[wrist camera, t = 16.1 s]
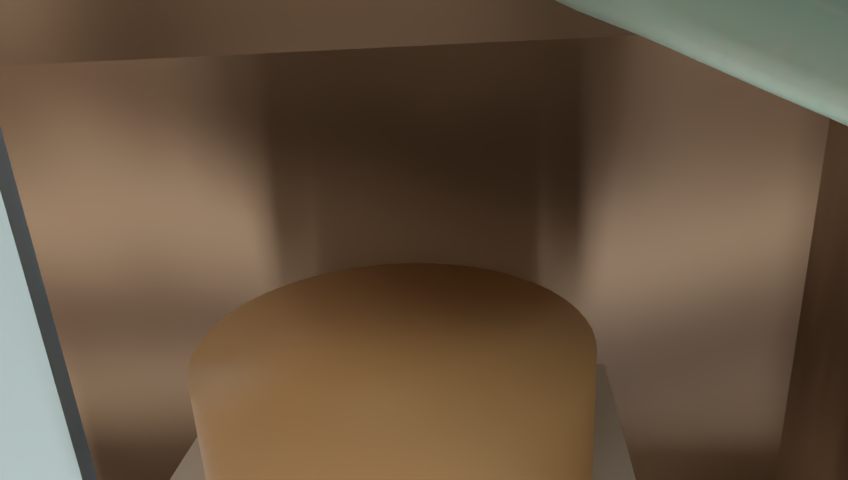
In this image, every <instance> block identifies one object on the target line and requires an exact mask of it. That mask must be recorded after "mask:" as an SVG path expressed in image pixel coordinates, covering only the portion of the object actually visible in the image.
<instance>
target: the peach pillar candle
mask: <svg viewBox="0 0 848 480" xmlns="http://www.w3.org/2000/svg"><path fill="white" fill-rule="evenodd" d="M596 373H597V342H596V339H595V335H594V332H593V330H592V328H591V326H590V325H589V323H588V321H587V320H586V318H585V317H584V316H583V315H582V314H581V313H580V312H579V310H578V309H577V308H576V307H574V306H573V305H572V304H571V303H569V302H568V301H567V300H566V299H564V298H563V297H561V296H559V295H558V294H556V293H554V292H553V291H551V290H549V289H547V288H545V287H543V286H540V285H538V284H536V283H534V282H531V281H528V280H525V279H523V278H520V277H517V276H513V275H509V274H506V273H502V272H498V271H493V270H488V269H483V268H477V267H470V266H463V265H452V264H439V263H398V264H382V265H373V266H364V267H357V268H351V269H345V270H339V271H335V272H330V273H325V274H321V275H317V276H313V277H310V278H306V279H302V280H299V281H296V282H293V283H290V284H287V285H284V286H282V287H279V288H277V289H274V290H272V291H270V292H267V293H265V294H263V295H261V296H259V297H257V298H255V299H253V300H251V301H249V302H247V303H245V304H244V305H242V306H240V307H239V308H237V309H235V310H234V311H232V312H231V313H229V314H228V315H227V316H225V317H224V318H223V319H221V320H220V321H219V322H218V323H217V324H216V325H214V326H213V327H212V328H211V329H210V330H209V331H208V332H207V333H206V335H205V336H204V337H203V338H202V340H201V341H200V342H199V343H198V345H197V347H196V349H195V351H194V353H193V355H192V356H191V360H190V363H189V367H188V388H189V393H190V398H191V404H192V409H193V414H194V420H195V425H196V430H197V436H198V441H199V447H200V452H201V457H202V463H203V468H204V473H205V479H206V480H592V470H593V446H594V422H595V398H596Z"/></svg>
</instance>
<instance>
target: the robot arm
mask: <svg viewBox="0 0 848 480" xmlns="http://www.w3.org/2000/svg"><path fill="white" fill-rule="evenodd" d="M170 480H206V479H205V473H204V468H203V463H202V457H201V452H200V447H199V441H198V436H197V438H196V439H195V441H194V443H193V444H192V446H191V447H190V449H189V450H188V452H187V454H186V455H185V457H184V458H183V460H182V461H181V463H180V465H179V466H178V468H177V469H176V471H175V472H174V474H173V476H172V477H171V479H170ZM592 480H636V478H635V475H634V471H633V467H632V464H631V460H630V456H629V453H628V449H627V445H626V442H625V438H624V434H623V431H622V427H621V423H620V420H619V416H618V412H617V409H616V405H615V401H614V398H613V394H612V390H611V387H610V383H609V379H608V376H607V372H606V368H605V365H604V364H597V373H596V398H595V422H594V446H593V470H592Z"/></svg>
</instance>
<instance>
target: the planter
mask: <svg viewBox="0 0 848 480" xmlns="http://www.w3.org/2000/svg"><path fill="white" fill-rule="evenodd" d="M555 1H557V2H560V3H562V4H564V5H566V6H568V7H570V8H573V9H575V10H577V11H579V12H582V13H584V14H587V15H589V16H592V17H594V18H597V19H599V20H602V21H604V22H607V23H609V24H612V25H615V26H617V27H620V28H622V29H625V30H627V31H630V32H632V33H635V34H637V35H640V36H642V37H645V38H647V39H649V40H652V41H654V42H656V43H659V44H661V45H663V46H665V47H668V48H670V49H672V50H674V51H677V52H679V53H681V54H683V55H686V56H688V57H690V58H692V59H695V60H697V61H699V62H702V63H704V64H706V65H708V66H711V67H713V68H715V69H717V70H720V71H722V72H724V73H726V74H729V75H731V76H733V77H735V78H738V79H740V80H742V81H745V82H747V83H749V84H751V85H754V86H756V87H758V88H760V89H763V90H765V91H767V92H769V93H772V94H774V95H776V96H779V97H781V98H783V99H786V100H788V101H790V102H793V103H795V104H797V105H800V106H802V107H804V108H807V109H809V110H811V111H814V112H816V113H818V114H821V115H823V116H825V117H828V118H830V119H832V120H835V121H837V122H839V123H842V124H844V125H846V126H848V0H555Z"/></svg>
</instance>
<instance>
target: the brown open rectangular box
mask: <svg viewBox="0 0 848 480" xmlns="http://www.w3.org/2000/svg"><path fill="white" fill-rule="evenodd" d="M0 127H1V130H2V134H3V138H4V141H5V145H6V148H7V152H8V156H9V159H10V163H11V167H12V170H13V174H14V178H15V181H16V185H17V188H18V192H19V196H20V199H21V203H22V207H23V210H24V214H25V218H26V221H27V225H28V229H29V232H30V236H31V239H32V243H33V247H34V250H35V254H36V258H37V261H38V265H39V269H40V272H41V276H42V280H43V283H44V287H45V290H46V294H47V298H48V301H49V305H50V309H51V312H52V316H53V320H54V323H55V327H56V330H57V334H58V338H59V341H60V345H61V349H62V352H63V356H64V360H65V363H66V367H67V371H68V374H69V378H70V381H71V385H72V389H73V392H74V396H75V400H76V403H77V407H78V411H79V414H80V418H81V421H82V425H83V429H84V432H85V436H86V440H87V443H88V447H89V451H90V454H91V458H92V462H93V465H94V469H95V472H96V476H97V480H170V479H171V477H172V476H173V474H174V472H175V471H176V469H177V468H178V466H179V465H180V463H181V461H182V460H183V458H184V457H185V455H186V454H187V452H188V450H189V449H190V447H191V446H192V444H193V443H194V441H195V439H196V438H197V430H196V425H195V420H194V414H193V409H192V404H191V398H190V393H189V388H188V367H189V363H190V360H191V356H192V355H193V353H194V351H195V349H196V347H197V345H198V343H199V342H200V341H201V340H202V338H203V337H204V336H205V335H206V333H207V332H208V331H209V330H210V329H211V328H212V327H213V326H214V325H216V324H217V323H218V322H219V321H220V320H221V319H223V318H224V317H225V316H227V315H228V314H229V313H231V312H232V311H234V310H235V309H237V308H239V307H240V306H242V305H244V304H245V303H247V302H249V301H251V300H253V299H255V298H257V297H259V296H261V295H263V294H265V293H267V292H270V291H272V290H274V289H277V288H279V287H282V286H284V285H287V284H290V283H293V282H296V281H299V280H302V279H306V278H310V277H313V276H317V275H321V274H325V273H330V272H335V271H339V270H345V269H351V268H357V267H364V266H373V265H382V264H398V263H439V264H452V265H463V266H470V267H477V268H483V269H488V270H493V271H498V272H502V273H506V274H509V275H513V276H517V277H520V278H523V279H525V280H528V281H531V282H534V283H536V284H538V285H540V286H543V287H545V288H547V289H549V290H551V291H553V292H554V293H556V294H558V295H559V296H561V297H563V298H564V299H566V300H567V301H568V302H569V303H571V304H572V305H573V306H574V307H576V308H577V309H578V310H579V312H580V313H581V314H582V315H583V316H584V317H585V318H586V320H587V321H588V323H589V325H590V326H591V328H592V330H593V332H594V335H595V339H596V342H597V364H604V365H605V368H606V372H607V376H608V379H609V383H610V387H611V390H612V394H613V398H614V401H615V405H616V409H617V412H618V416H619V420H620V423H621V427H622V431H623V434H624V438H625V442H626V445H627V449H628V453H629V456H630V460H631V464H632V467H633V471H634V475H635V478H636V480H848V126H846V125H844V124H842V123H839V122H837V121H835V120H832V119H830V118H828V117H825V116H823V115H821V114H818V113H816V112H814V111H811V110H809V109H807V108H804V107H802V106H800V105H797V104H795V103H793V102H790V101H788V100H786V99H783V98H781V97H779V96H776V95H774V94H772V93H769V92H767V91H765V90H763V89H760V88H758V87H756V86H754V85H751V84H749V83H747V82H745V81H742V80H740V79H738V78H735V77H733V76H731V75H729V74H726V73H724V72H722V71H720V70H717V69H715V68H713V67H711V66H708V65H706V64H704V63H702V62H699V61H697V60H695V59H692V58H690V57H688V56H686V55H683V54H681V53H679V52H677V51H674V50H672V49H670V48H668V47H665V46H663V45H661V44H659V43H656V42H654V41H652V40H649V39H647V38H645V37H642V36H640V35H637V34H635V33H632V32H630V31H627V30H625V29H622V28H620V27H617V26H615V25H612V24H609V23H607V22H604V21H602V20H599V19H597V18H594V17H592V16H589V15H587V14H584V13H582V12H579V11H577V10H575V9H573V8H570V7H568V6H566V5H564V4H562V3H560V2H557V1H555V0H0Z"/></svg>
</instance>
